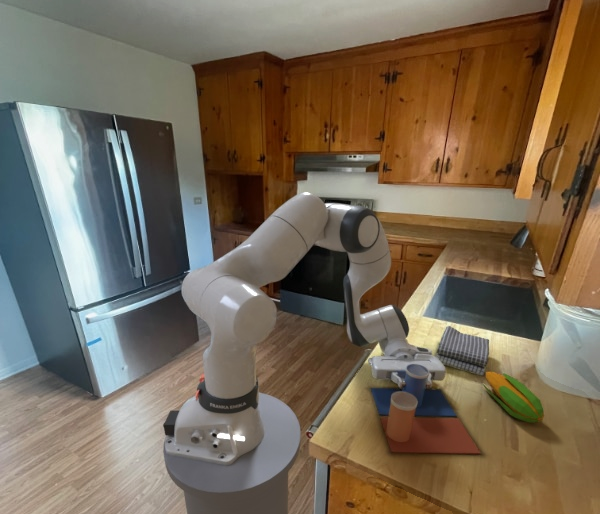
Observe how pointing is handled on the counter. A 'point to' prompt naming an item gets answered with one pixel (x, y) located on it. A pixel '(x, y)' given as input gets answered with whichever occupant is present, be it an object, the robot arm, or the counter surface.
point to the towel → (463, 351)
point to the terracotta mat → (434, 437)
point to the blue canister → (416, 381)
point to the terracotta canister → (401, 416)
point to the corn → (515, 397)
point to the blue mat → (431, 406)
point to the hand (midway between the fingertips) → (416, 385)
